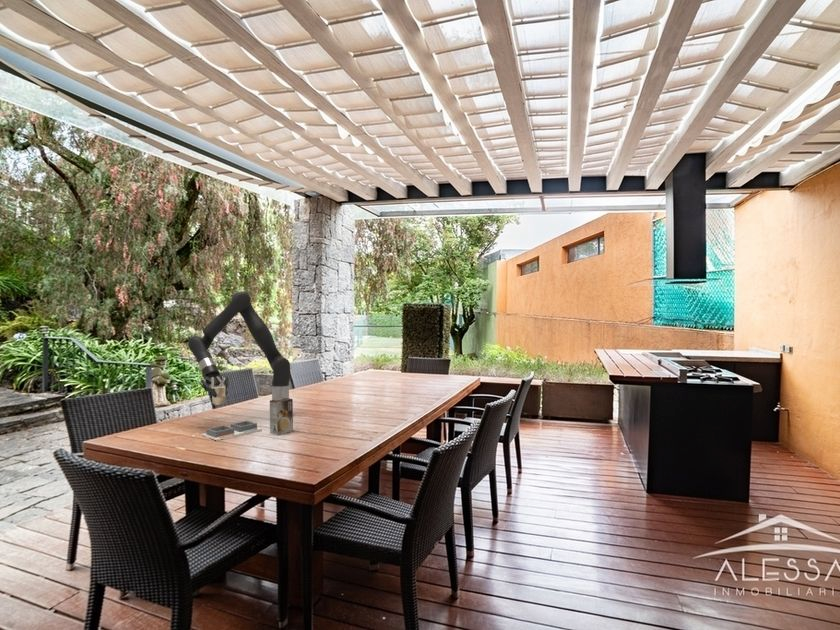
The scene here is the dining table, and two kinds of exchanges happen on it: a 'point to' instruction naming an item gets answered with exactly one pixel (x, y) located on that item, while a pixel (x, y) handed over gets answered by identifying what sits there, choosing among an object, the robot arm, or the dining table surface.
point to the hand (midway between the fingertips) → (220, 395)
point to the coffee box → (281, 416)
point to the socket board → (232, 430)
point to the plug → (219, 396)
